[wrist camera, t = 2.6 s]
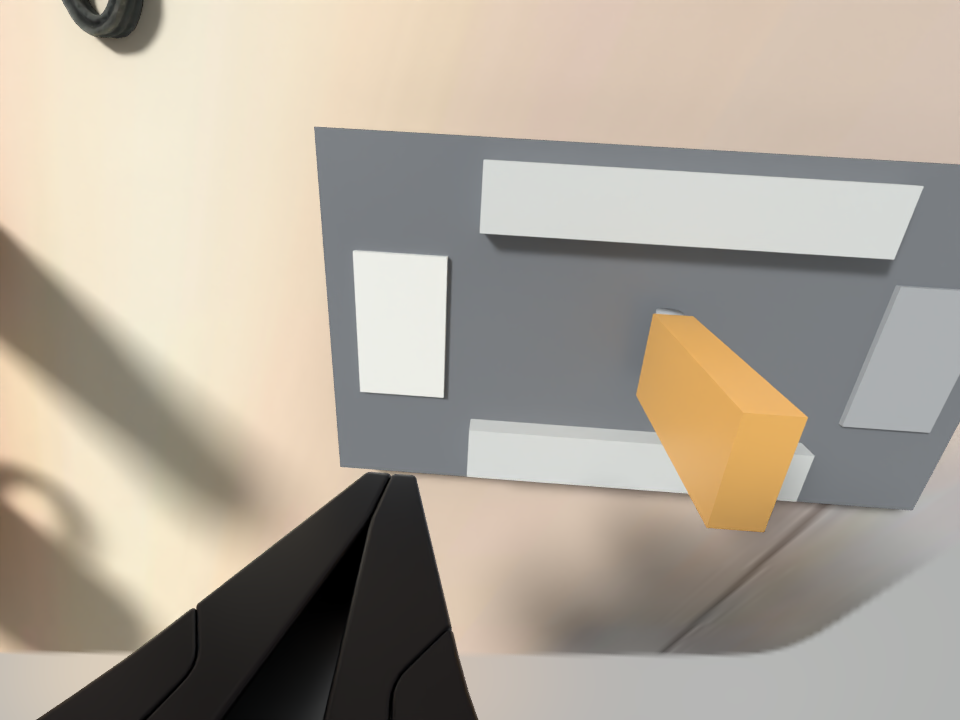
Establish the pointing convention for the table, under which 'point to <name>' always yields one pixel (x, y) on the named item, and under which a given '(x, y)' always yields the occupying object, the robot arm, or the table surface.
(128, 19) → the composite cable
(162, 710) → the robot arm
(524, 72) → the table surface
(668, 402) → the lever
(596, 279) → the base
